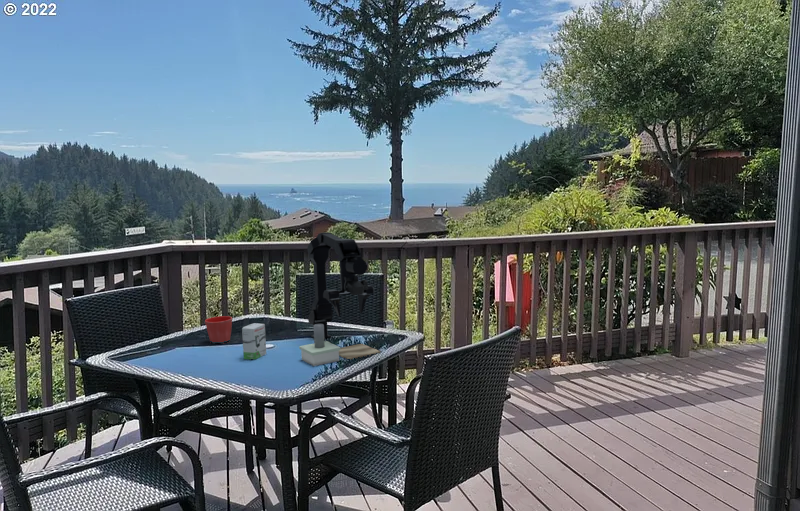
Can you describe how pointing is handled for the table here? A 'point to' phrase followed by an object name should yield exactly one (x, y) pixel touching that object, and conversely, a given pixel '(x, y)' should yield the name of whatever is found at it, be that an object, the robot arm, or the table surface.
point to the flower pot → (219, 328)
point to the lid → (319, 343)
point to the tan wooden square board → (357, 351)
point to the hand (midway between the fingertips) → (350, 314)
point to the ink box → (254, 341)
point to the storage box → (320, 358)
